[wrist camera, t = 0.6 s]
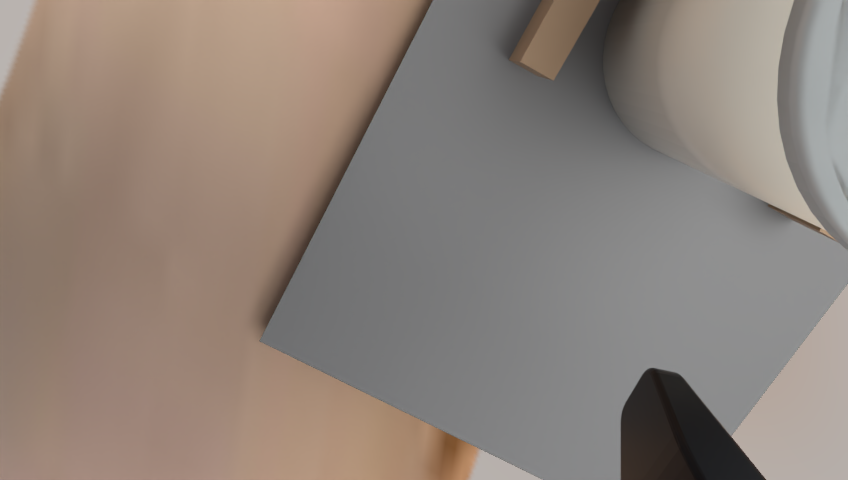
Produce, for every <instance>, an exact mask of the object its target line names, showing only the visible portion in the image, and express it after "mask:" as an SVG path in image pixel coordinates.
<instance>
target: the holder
mask: <svg viewBox="0 0 848 480" xmlns="http://www.w3.org/2000/svg"><path fill="white" fill-rule="evenodd" d="M619 1H620V0H433V1H432V3H431V5H430V7H429V9H428V11H427V13H426V15H425V17H424V19H423V21H422V23H421V25H420V27H419V29H418V31H417V33H416V35H415V37H414V39H413V41H412V43H411V45H410V46H409V48H408V50H407V52H406V54H405V56H404V58H403V60H402V62H401V64H400V66H399V68H398V70H397V72H396V74H395V76H394V78H393V80H392V82H391V84H390V86H389V88H388V90H387V92H386V94H385V96H384V98H383V100H382V102H381V103H380V105H379V107H378V109H377V111H376V113H375V115H374V117H373V119H372V121H371V123H370V125H369V127H368V129H367V131H366V133H365V135H364V137H363V139H362V141H361V143H360V145H359V147H358V149H357V151H356V153H355V155H354V157H353V158H352V160H351V162H350V164H349V166H348V168H347V170H346V172H345V174H344V176H343V178H342V180H341V182H340V184H339V186H338V188H337V190H336V192H335V194H334V196H333V198H332V200H331V202H330V204H329V206H328V208H327V210H326V212H325V214H324V215H323V217H322V219H321V221H320V223H319V225H318V227H317V229H316V231H315V233H314V235H313V237H312V239H311V241H310V243H309V245H308V247H307V249H306V251H305V253H304V255H303V257H302V259H301V261H300V263H299V265H298V267H297V269H296V270H295V272H294V274H293V276H292V278H291V280H290V282H289V284H288V286H287V288H286V290H285V292H284V294H283V296H282V298H281V300H280V302H279V304H278V306H277V308H276V310H275V312H274V314H273V316H272V318H271V320H270V322H269V324H268V326H267V327H266V329H265V331H264V333H263V335H262V337H261V339H260V342H262V343H264V344H266V345H268V346H270V347H272V348H275V349H277V350H279V351H281V352H283V353H285V354H287V355H289V356H291V357H293V358H295V359H297V360H299V361H301V362H303V363H305V364H307V365H309V366H311V367H313V368H315V369H317V370H320V371H322V372H324V373H326V374H328V375H330V376H332V377H334V378H336V379H338V380H340V381H342V382H344V383H346V384H348V385H350V386H352V387H354V388H356V389H358V390H360V391H362V392H365V393H367V394H369V395H371V396H373V397H375V398H377V399H379V400H381V401H383V402H385V403H387V404H389V405H391V406H393V407H395V408H397V409H399V410H401V411H403V412H405V413H408V414H410V415H412V416H414V417H416V418H418V419H420V420H422V421H424V422H426V423H428V424H430V425H432V426H434V427H436V428H438V429H440V430H442V431H444V432H446V433H448V434H450V435H453V436H455V437H457V438H459V439H461V440H463V441H465V442H467V443H469V444H471V445H473V446H475V447H477V448H479V449H481V450H483V451H485V452H488V453H489V454H491V455H493V456H495V457H498V458H500V459H502V460H504V461H506V462H508V463H510V464H512V465H514V466H516V467H518V468H520V469H522V470H524V471H526V472H528V473H530V474H532V475H534V476H536V477H538V478H540V479H543V480H621V414H622V410H623V407H624V404H625V402H626V401H627V399H628V397H629V396H630V394H631V392H632V391H633V389H634V387H635V386H636V384H637V383H638V381H639V379H640V378H641V376H642V374H643V373H644V372H645V371H646V370H647V369H649V368H657V369H662V370H667V371H671V372H676V373H678V374H680V375H681V376H682V377H683V378H684V379H685V380H686V381H687V383H688V384H689V385H690V386H691V388H692V389H693V390H694V391H695V393H696V394H697V395H698V396H699V398H700V399H701V400H702V401H703V402H704V404H705V405H706V406H707V407H708V409H709V410H710V411H711V412H712V414H713V415H714V416H715V417H716V419H717V420H718V421H719V422H720V423H721V425H722V426H723V427H724V428H725V430H726V431H727V432H728V433H729V435H730V436H732V435H733V433H734V432H735V431H736V429H737V428H738V427H739V425H740V424H741V423H742V421H743V420H744V419H745V417H746V416H747V415H748V414H749V412H750V411H751V410H752V408H753V407H754V406H755V404H756V403H757V402H758V401H759V399H760V398H761V396H762V395H763V394H764V393H765V391H766V390H767V389H768V387H769V386H770V385H771V384H772V382H773V381H774V380H775V378H776V377H777V376H778V374H779V373H780V372H781V370H782V369H783V368H784V367H785V365H786V364H787V363H788V361H789V360H790V359H791V357H792V356H793V355H794V354H795V352H796V351H797V350H798V348H799V347H800V345H801V344H802V343H803V342H804V340H805V339H806V338H807V337H808V335H809V334H810V333H811V331H812V330H813V329H814V327H815V326H816V325H817V323H818V322H819V321H820V320H821V318H822V317H823V315H824V314H825V313H826V312H827V310H828V309H829V308H830V306H831V305H832V304H833V303H834V301H835V300H836V299H837V297H838V296H839V295H840V293H841V292H842V291H843V289H844V288H845V287H846V286H847V284H848V251H847V250H846V249H845V248H844V247H843V246H842V245H841V244H840V243H838V242H837V241H836V240H835V239H834V238H833V237H832V236H831V235H830V234H829V233H828V232H827V231H826V230H824V229H822V228H820V227H817V226H815V225H813V224H811V223H809V222H807V221H805V220H803V219H800V218H798V217H796V216H794V215H792V214H790V213H788V212H786V211H783V210H781V209H779V208H777V207H775V206H773V205H771V204H769V203H767V202H764V201H762V200H760V199H758V198H756V197H754V196H752V195H750V194H747V193H745V192H743V191H741V190H739V189H737V188H735V187H733V186H730V185H728V184H726V183H724V182H722V181H720V180H718V179H716V178H713V177H711V176H709V175H707V174H705V173H703V172H701V171H699V170H697V169H694V168H692V167H690V166H688V165H686V164H684V163H682V162H680V161H677V160H675V159H673V158H671V157H669V156H667V155H665V154H663V153H660V152H658V151H656V150H654V149H652V148H650V147H649V146H647V145H646V144H644V143H643V142H641V141H640V140H639V139H638V138H637V137H635V136H634V135H633V134H632V133H631V132H630V131H629V130H628V129H627V127H626V126H625V125H624V124H623V123H622V121H621V120H620V118H619V116H618V115H617V113H616V112H615V110H614V108H613V105H612V103H611V101H610V99H609V95H608V92H607V89H606V85H605V79H604V72H603V52H604V42H605V38H606V34H607V29H608V26H609V23H610V21H611V18H612V15H613V13H614V11H615V9H616V7H617V5H618V3H619Z"/></svg>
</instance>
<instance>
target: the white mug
mask: <svg viewBox="0 0 848 480" xmlns="http://www.w3.org/2000/svg"><path fill="white" fill-rule="evenodd" d="M603 72H604V79H605V85H606V89H607V92H608V95H609V99H610V101H611V103H612V105H613V108H614V110H615V112H616V113H617V115H618V116H619V118H620V120H621V121H622V123H623V124H624V125H625V126H626V127H627V129H628V130H629V131H630V132H631V133H632V134H633V135H634V136H635V137H637V138H638V139H639V140H640V141H641V142H643V143H644V144H646V145H647V146H649V147H650V148H652V149H654V150H656V151H658V152H660V153H663V154H665V155H667V156H669V157H671V158H673V159H675V160H677V161H680V162H682V163H684V164H686V165H688V166H690V167H692V168H694V169H697V170H699V171H701V172H703V173H705V174H707V175H709V176H711V177H713V178H716V179H718V180H720V181H722V182H724V183H726V184H728V185H730V186H733V187H735V188H737V189H739V190H741V191H743V192H745V193H747V194H750V195H752V196H754V197H756V198H758V199H760V200H762V201H764V202H767V203H769V204H771V205H773V206H775V207H777V208H779V209H781V210H783V211H786V212H788V213H790V214H792V215H794V216H796V217H798V218H800V219H803V220H805V221H807V222H809V223H811V224H813V225H815V226H817V227H820V228H822V229H824V230H826V231H827V232H828V233H829V234H830V235H831V236H832V237H833V238H834V239H835V240H836V241H837V242H838V243H840V244H841V245H842V246H843V247H844V248H845V249H846V250H847V251H848V0H620V1H619V3H618V5H617V7H616V9H615V11H614V13H613V15H612V18H611V21H610V23H609V26H608V29H607V34H606V38H605V42H604V52H603Z"/></svg>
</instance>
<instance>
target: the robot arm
mask: <svg viewBox="0 0 848 480" xmlns="http://www.w3.org/2000/svg"><path fill="white" fill-rule="evenodd" d="M621 480H766V479H765V478H764V477H763V475H761V473H760V472H759V471H758V469H757V468H756V467H755V465H754V464H753V463H752V462H751V461H750V460H749V458H748V457H747V456H746V455H745V453H744V452H743V451H742V449H741V448H740V447H739V446H738V444H737V443H736V442H735V441H734V440H733V438H732V437H731V436H730V435H729V433H728V432H727V431H726V430H725V428H724V427H723V426H722V425H721V423H720V422H719V421H718V420H717V419H716V417H715V416H714V415H713V414H712V412H711V411H710V410H709V409H708V407H707V406H706V405H705V404H704V402H703V401H702V400H701V399H700V398H699V396H698V395H697V394H696V393H695V391H694V390H693V389H692V388H691V386H690V385H689V384H688V383H687V381H686V380H685V379H684V378H683V377H682V376H681V375H680V374H678V373H676V372H671V371H667V370H662V369H657V368H649V369H647V370H646V371H645V372H644V373H643V374H642V376H641V378H640V379H639V381H638V383H637V384H636V386H635V387H634V389H633V391H632V392H631V394H630V396H629V397H628V399H627V401H626V402H625V404H624V407H623V410H622V414H621Z"/></svg>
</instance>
